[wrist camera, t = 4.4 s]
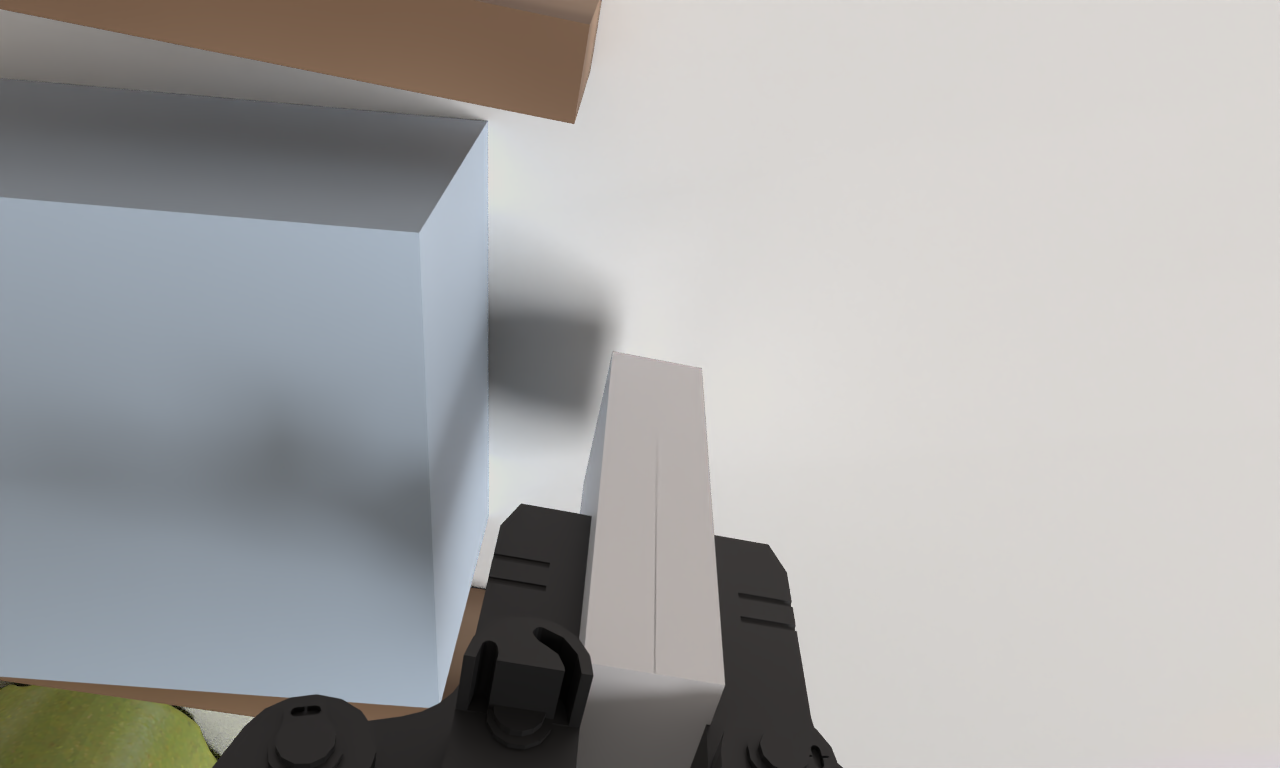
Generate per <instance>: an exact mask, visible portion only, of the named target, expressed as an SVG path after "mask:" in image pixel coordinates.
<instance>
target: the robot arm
mask: <svg viewBox="0 0 1280 768" xmlns="http://www.w3.org/2000/svg"><path fill="white" fill-rule="evenodd" d="M791 602H792V601H791V595H790V589H789V583H788V577H787V572H786V571H785V569H784V568H783V566H782V565H781V563H780V562H779V560H778V559H777V557H776V555H775V554H774V552H773V551H772V549H771V548H770V546H769V545H767V544H762V543H756V542H750V541H745V540H739V539H733V538H727V537H722V536H716V535H714V527H713V513H712V499H711V486H710V472H709V458H708V445H707V431H706V417H705V404H704V390H703V377H702V368H697V367H692V366H687V365H682V364H677V363H671V362H666V361H661V360H656V359H650V358H645V357H640V356H635V355H630V354H624V353H619V352H614V351H613V352H612V357H611V361H610V366H609V371H608V375H607V380H606V384H605V389H604V393H603V398H602V402H601V407H600V411H599V416H598V420H597V425H596V429H595V434H594V438H593V443H592V448H591V452H590V457H589V461H588V466H587V470H586V475H585V479H584V485H583V494H582V502H581V510H580V514H577V513H572V512H566V511H560V510H554V509H549V508H543V507H537V506H532V505H526V504H520V505H519V506H518V507H517V509H516V510H515V511H514V512H513V513H512V514H511V515H510V516H509V517H508V518H507V519H506V520H505V521H504V522H503V523H502V524H501V526H500V530H499V534H498V539H497V543H496V547H495V552H494V557H493V560H492V565H491V569H490V573H489V578H488V582H487V586H486V590H485V595H484V599H483V603H482V608H481V612H480V616H479V621H478V625H477V629H476V633H475V636H473V638H472V640H471V642H470V644H469V646H468V648H467V649H466V651H465V653H464V656H463V662H462V669H461V675H460V682H459V685H458V686H457V687H456V689H455V690H454V691H453V693H451V694H450V695H449V696H447V697H446V698H445V699H444V700H442V701H441V702H440V703H438V704H436V705H434V706H432V707H430V708H428V709H426V710H424V711H421V712H417V713H413V714H409V715H405V716H400V717H392V718H385V719H377V720H370V721H368V720H367V718H366V717H365V715H364V714H363V712H362V711H361V710H359V709H358V708H356V707H354V706H353V705H351V704H349V703H348V702H346V701H344V700H343V699H340V698H334V697H329V696H324V695H319V694H314V695H306V696H298V697H290V698H288V699H285V700H283V701H281V702H279V703H276V704H274V705H272V706H270V707H267V708H265V709H264V710H263V711H261V712H260V713H259V714H258V715H257V716H256V717H255V718H254V719H253V720H251V721H250V722H249V723H248V724H247V725H246V726H245V727H244V728H243V729H242V730H241V732H240V733H239V734H238V735H237V737H236V738H235V739H234V740H233V742H232V743H231V744H230V746H229V747H228V748H227V749H226V751H225V752H224V753H223V754H222V756H221V757H220V758H219V759H218V761H217V762H216V763H215V764H214V766H213V767H212V768H843V767H841V766H840V765H839V764H838V763H837V760H836V758H835V755H834V753H833V750H832V748H831V746H830V745H829V744H828V743H827V742H826V740H825V739H824V738H823V737H822V736H821V734H820V733H819V732H818V731H817V730H816V729H815V728H814V726H813V723H812V719H811V715H810V709H809V703H808V697H807V691H806V685H805V679H804V673H803V667H802V661H801V655H800V649H799V643H798V637H797V631H795V619H794V613H793V607H791Z"/></svg>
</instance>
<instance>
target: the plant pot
mask: <svg viewBox="0 0 1280 768" xmlns="http://www.w3.org/2000/svg"><path fill="white" fill-rule="evenodd" d="M216 762H217V760H216V759H215V757H214V756H213V755H212V753H211V752H210V750H209V748H208V746H207V744H206V742H205V739H204V737H203V735H202V732H201V730H200V727H199V726H198V725H197V723H196V722H195V721H193V720H192V719H191V718H189V717H188V716H187V715H185V714H184V713H183V712H181V711H180V710H178V709H176V708H174V707H173V706H171V705H168V704H161V703H155V702H148V701H141V700H134V699H127V698H120V697H113V696H106V695H99V694H92V693H85V692H78V691H71V690H64V689H57V688H50V687H43V686H36V685H31V686H26V687H21V686H16V685H13V684H12V685H8V686H5V687H3V688H2V689H0V768H212V767H213V766H214V764H215V763H216Z"/></svg>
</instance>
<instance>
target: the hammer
mask: <svg viewBox="0 0 1280 768" xmlns="http://www.w3.org/2000/svg"><path fill="white" fill-rule="evenodd" d="M601 1H602V0H0V9H3V10H8V11H13V12H18V13H23V14H28V15H33V16H38V17H43V18H48V19H53V20H58V21H63V22H68V23H73V24H78V25H83V26H88V27H93V28H98V29H103V30H108V31H113V32H118V33H123V34H128V35H133V36H138V37H143V38H148V39H153V40H158V41H163V42H168V43H173V44H178V45H183V46H188V47H193V48H198V49H203V50H208V51H213V52H218V53H223V54H228V55H233V56H238V57H243V58H248V59H253V60H258V61H263V62H268V63H273V64H278V65H283V66H288V67H292V68H297V69H302V70H307V71H312V72H317V73H322V74H327V75H332V76H337V77H342V78H347V79H352V80H357V81H362V82H367V83H372V84H377V85H382V86H387V87H392V88H397V89H402V90H407V91H412V92H417V93H422V94H427V95H432V96H437V97H442V98H447V99H452V100H457V101H462V102H467V103H472V104H477V105H482V106H487V107H492V108H497V109H502V110H507V111H512V112H517V113H522V114H527V115H532V116H537V117H542V118H547V119H552V120H557V121H562V122H567V123H572V124H574V123H575V120H576V116H577V113H578V110H579V107H580V103H581V100H582V97H583V93H584V90H585V87H586V83H587V80H588V77H589V74H590V69H591V63H592V57H593V51H594V45H595V38H596V32H597V26H598V20H599V14H600V8H601ZM484 595H485V590H483V589H477V588H471V587H470V591H469V595H468V599H467V602H466V606H465V610H464V614H463V618H462V622H461V626H460V630H459V634H458V638H457V641H456V645H455V649H454V653H453V657H452V661H451V665H450V669H449V673H448V677H447V681H446V684H445V688H444V692H443V696H442V700H444V699H445V698H446V697H447V696H449V695H450V694H451V693H453V691H454V690H455V689H456V687H457V686H458V685H459V682H460V675H461V669H462V662H463V656H464V653H465V651H466V649H467V648H468V646H469V644H470V642H471V640H472V638H473V636H475V633H476V629H477V625H478V621H479V616H480V612H481V608H482V603H483V599H484ZM0 680H1V681H8V682H15V683H22V684H29V685H36V686H43V687H50V688H57V689H64V690H71V691H78V692H85V693H92V694H99V695H106V696H113V697H120V698H127V699H134V700H141V701H148V702H155V703H161V704H168V705H175V706H182V707H189V708H196V709H203V710H210V711H217V712H224V713H231V714H238V715H245V716H252V717H256V716H257V715H258V714H259V713H260V712H261V711H263V710H264V709H265V708H267V707H270V706H272V705H274V704H276V703H279V702H281V701H283V700H285V699H288V698H286V697H272V696H259V695H245V694H231V693H218V692H204V691H190V690H177V689H163V688H149V687H135V686H122V685H108V684H94V683H81V682H67V681H53V680H40V679H26V678H12V677H0ZM442 700H441V701H442ZM348 703H349V704H351V705H353V706H354V707H356V708H358V709H359V710H361V711H362V712H363V714H364V715H365V717H366V718H367V720H368V721H370V720H377V719H385V718H392V717H400V716H405V715H409V714H413V713H417V712H421V711H424V710H426V709H428V708H423V707H409V706H395V705H382V704H368V703H354V702H348Z"/></svg>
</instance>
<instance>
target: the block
mask: <svg viewBox="0 0 1280 768" xmlns="http://www.w3.org/2000/svg"><path fill="white" fill-rule="evenodd" d="M488 517H489V461H488V121H481V120H469V119H458V118H447V117H435V116H424V115H412V114H401V113H390V112H378V111H367V110H356V109H344V108H333V107H322V106H310V105H299V104H288V103H276V102H265V101H254V100H242V99H231V98H220V97H208V96H197V95H185V94H174V93H163V92H151V91H140V90H129V89H117V88H106V87H95V86H83V85H72V84H61V83H49V82H38V81H27V80H15V79H4V78H0V677H12V678H26V679H40V680H53V681H67V682H81V683H94V684H108V685H122V686H135V687H149V688H163V689H177V690H190V691H204V692H218V693H231V694H245V695H259V696H272V697H286V698H290V697H298V696H306V695H314V694H319V695H324V696H329V697H334V698H340V699H343V700H344V701H346V702H354V703H368V704H382V705H395V706H409V707H423V708H430V707H432V706H434V705H436V704H438V703H440V702H441V700H442V696H443V692H444V688H445V684H446V681H447V677H448V673H449V669H450V665H451V661H452V657H453V653H454V649H455V645H456V641H457V638H458V634H459V630H460V626H461V622H462V618H463V614H464V610H465V606H466V602H467V599H468V595H469V591H470V587H471V583H472V579H473V575H474V571H475V567H476V563H477V560H478V556H479V552H480V548H481V544H482V540H483V536H484V532H485V528H486V524H487V521H488Z"/></svg>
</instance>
